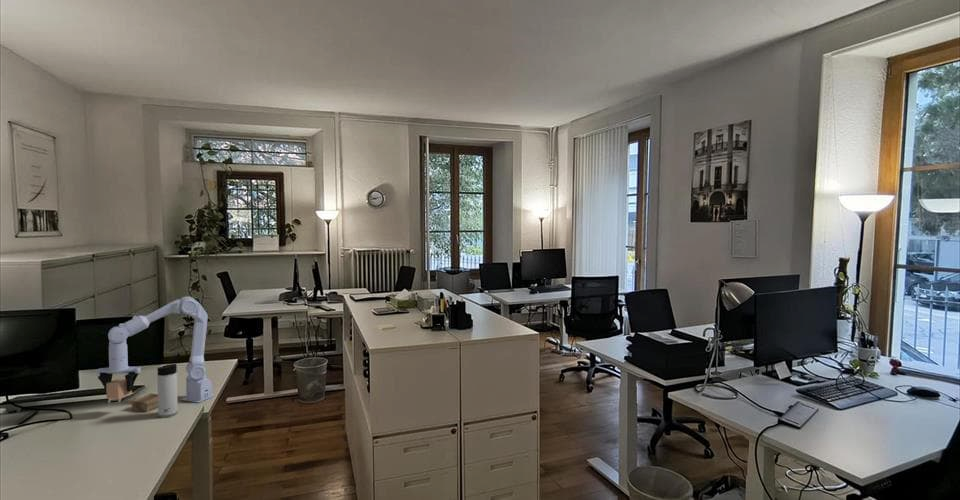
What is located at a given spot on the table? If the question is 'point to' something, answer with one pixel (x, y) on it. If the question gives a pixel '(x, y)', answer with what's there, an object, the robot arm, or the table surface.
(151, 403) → the walnut block
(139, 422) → the table surface
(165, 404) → the travel mug
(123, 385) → the terracotta block
